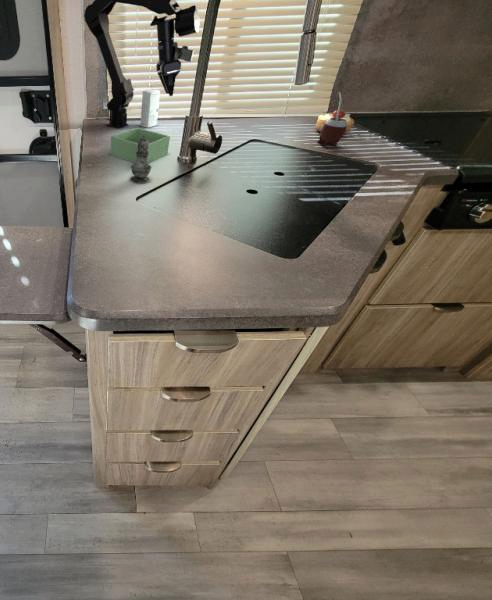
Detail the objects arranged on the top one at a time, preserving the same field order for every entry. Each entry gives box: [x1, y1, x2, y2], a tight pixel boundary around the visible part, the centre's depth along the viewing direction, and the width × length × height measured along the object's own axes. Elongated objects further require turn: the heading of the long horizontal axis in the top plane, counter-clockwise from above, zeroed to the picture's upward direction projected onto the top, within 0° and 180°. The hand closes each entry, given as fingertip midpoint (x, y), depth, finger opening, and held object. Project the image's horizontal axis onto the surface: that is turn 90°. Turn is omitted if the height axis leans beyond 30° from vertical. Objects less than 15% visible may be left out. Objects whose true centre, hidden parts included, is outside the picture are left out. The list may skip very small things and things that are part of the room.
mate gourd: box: [316, 91, 347, 148], centre depth 111 cm, size 8×8×15 cm
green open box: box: [110, 127, 171, 164], centre depth 107 cm, size 14×14×6 cm
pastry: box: [316, 105, 355, 135], centre depth 123 cm, size 12×12×9 cm
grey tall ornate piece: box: [130, 135, 153, 184], centre depth 90 cm, size 6×6×12 cm
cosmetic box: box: [139, 89, 161, 128], centre depth 129 cm, size 6×4×12 cm
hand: (169, 94), depth 117 cm, fingers open, 9 cm apart
